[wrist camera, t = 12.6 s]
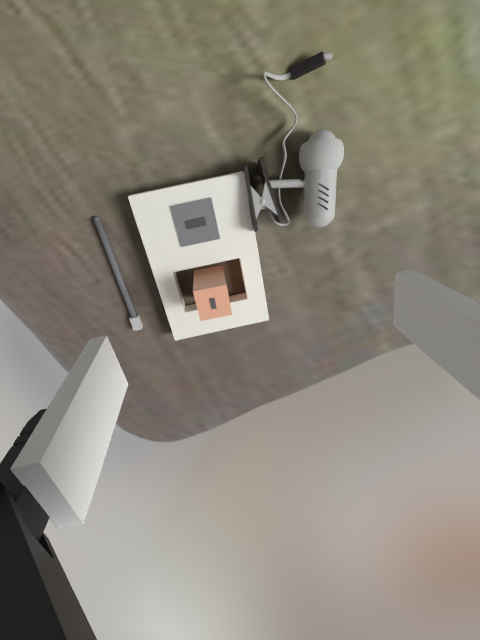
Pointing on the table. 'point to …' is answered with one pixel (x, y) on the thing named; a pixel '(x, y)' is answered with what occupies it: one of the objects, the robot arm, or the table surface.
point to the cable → (118, 276)
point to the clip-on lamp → (302, 165)
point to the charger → (211, 293)
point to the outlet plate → (201, 246)
